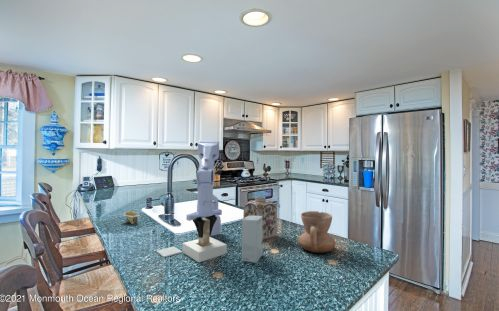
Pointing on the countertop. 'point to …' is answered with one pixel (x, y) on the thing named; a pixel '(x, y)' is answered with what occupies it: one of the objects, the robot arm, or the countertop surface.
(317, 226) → the ceramic jug
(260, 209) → the decorative jar
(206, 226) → the wooden square post
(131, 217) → the gold pronged connector
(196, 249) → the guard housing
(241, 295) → the countertop surface
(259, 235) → the skincare box
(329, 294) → the countertop surface
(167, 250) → the mat
